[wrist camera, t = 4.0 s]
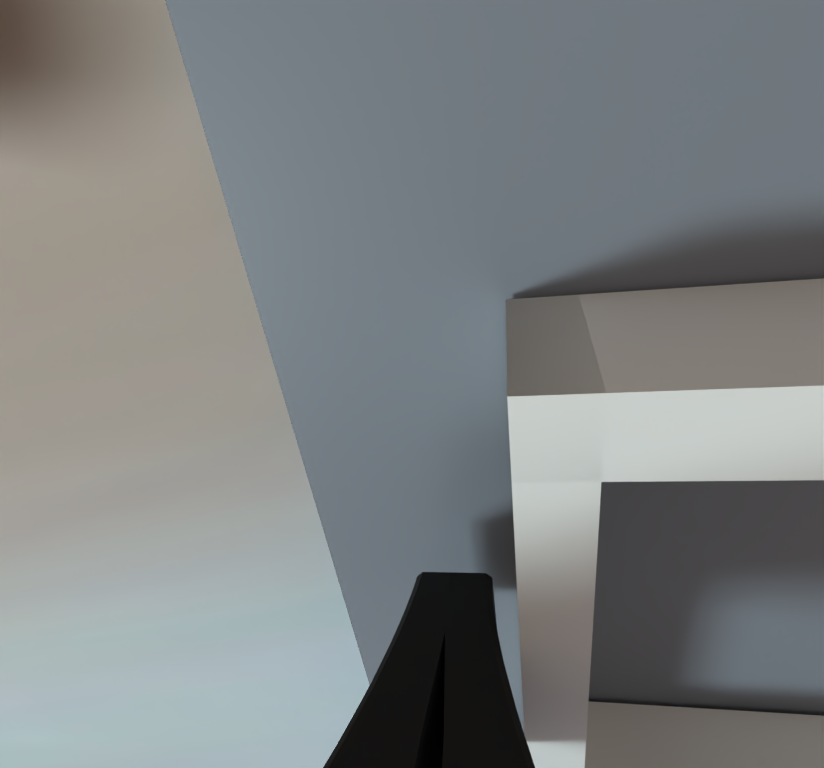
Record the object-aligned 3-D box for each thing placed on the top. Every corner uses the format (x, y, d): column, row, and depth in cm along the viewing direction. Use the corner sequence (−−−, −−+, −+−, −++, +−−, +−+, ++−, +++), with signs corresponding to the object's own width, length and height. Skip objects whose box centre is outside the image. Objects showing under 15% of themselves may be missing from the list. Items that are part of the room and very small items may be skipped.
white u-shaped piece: (945, 753, 12) (1036, 902, 10) (525, 724, 14) (530, 847, 12) (1310, 246, 6) (1705, 355, 4) (506, 299, 8) (507, 396, 6)
